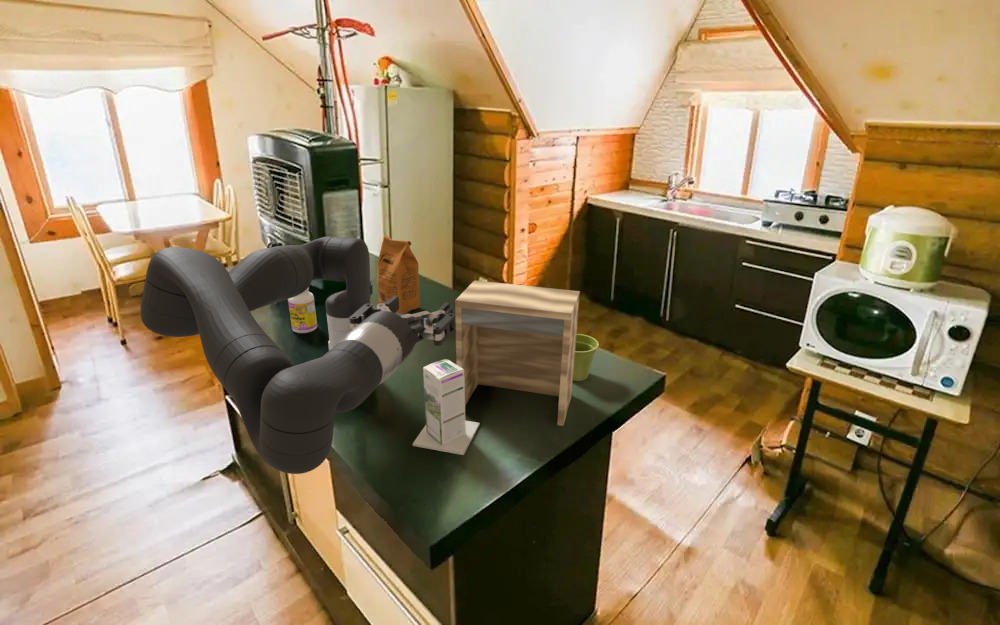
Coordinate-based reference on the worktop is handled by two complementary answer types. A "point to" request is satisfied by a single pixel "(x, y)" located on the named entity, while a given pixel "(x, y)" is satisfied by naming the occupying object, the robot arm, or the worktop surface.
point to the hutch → (518, 339)
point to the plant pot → (583, 356)
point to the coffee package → (398, 274)
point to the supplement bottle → (303, 312)
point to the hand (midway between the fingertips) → (422, 305)
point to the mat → (452, 447)
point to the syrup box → (444, 400)
